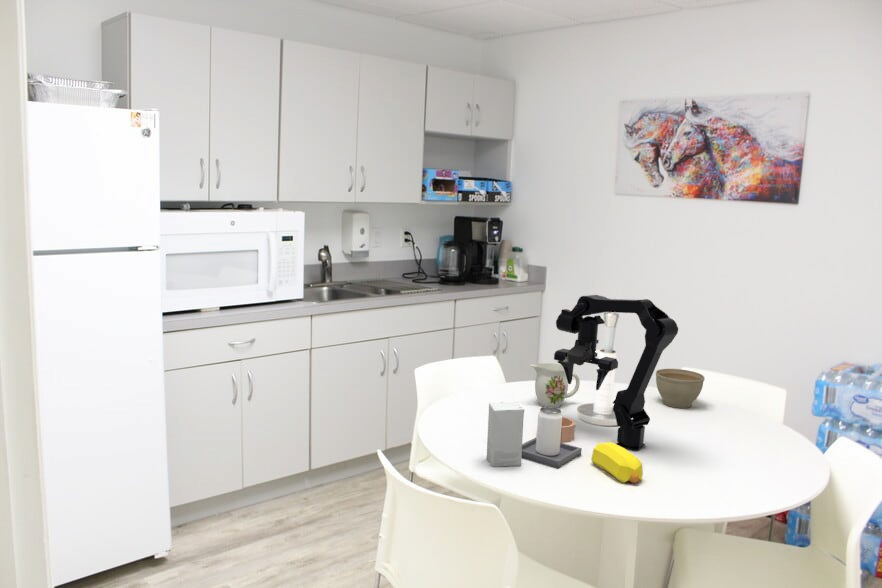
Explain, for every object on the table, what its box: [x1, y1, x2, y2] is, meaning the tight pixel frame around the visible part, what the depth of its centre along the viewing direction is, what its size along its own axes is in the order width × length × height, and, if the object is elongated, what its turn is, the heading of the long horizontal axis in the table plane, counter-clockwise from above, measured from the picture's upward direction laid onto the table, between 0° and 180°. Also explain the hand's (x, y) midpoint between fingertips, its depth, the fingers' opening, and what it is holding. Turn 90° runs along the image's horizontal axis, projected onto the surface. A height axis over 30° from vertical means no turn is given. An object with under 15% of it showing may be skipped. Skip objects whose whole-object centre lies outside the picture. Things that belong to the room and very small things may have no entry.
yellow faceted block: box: [590, 441, 644, 484], centre depth 192 cm, size 18×7×8 cm
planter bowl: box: [655, 368, 705, 409], centre depth 257 cm, size 16×16×11 cm
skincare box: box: [486, 401, 525, 467], centre depth 194 cm, size 8×7×16 cm
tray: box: [521, 436, 582, 469], centre depth 202 cm, size 14×14×2 cm
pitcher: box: [530, 362, 581, 408], centre depth 249 cm, size 11×18×14 cm, turn 103°
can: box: [535, 406, 563, 456], centre depth 201 cm, size 6×6×12 cm
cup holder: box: [560, 416, 576, 443], centre depth 218 cm, size 11×11×4 cm
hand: (583, 387), depth 225 cm, fingers open, 9 cm apart
